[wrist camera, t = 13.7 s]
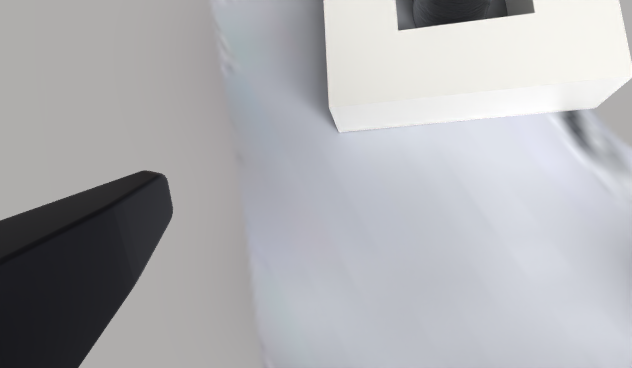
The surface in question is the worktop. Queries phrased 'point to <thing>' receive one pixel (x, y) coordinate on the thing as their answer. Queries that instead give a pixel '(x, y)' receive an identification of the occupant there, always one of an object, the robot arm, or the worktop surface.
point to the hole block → (471, 63)
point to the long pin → (448, 11)
